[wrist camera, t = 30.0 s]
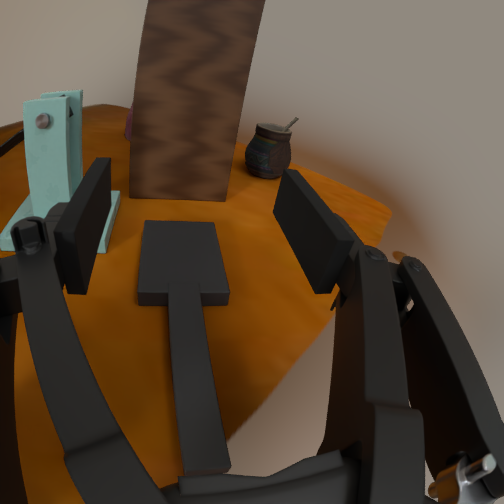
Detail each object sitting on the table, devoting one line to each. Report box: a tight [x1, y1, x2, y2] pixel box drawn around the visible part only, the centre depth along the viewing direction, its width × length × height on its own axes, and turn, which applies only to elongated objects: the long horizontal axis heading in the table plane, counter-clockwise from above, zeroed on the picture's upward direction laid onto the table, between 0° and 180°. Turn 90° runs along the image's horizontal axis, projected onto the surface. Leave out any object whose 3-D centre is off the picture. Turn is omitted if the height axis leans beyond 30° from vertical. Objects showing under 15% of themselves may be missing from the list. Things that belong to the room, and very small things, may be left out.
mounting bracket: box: [0, 90, 120, 253], centre depth 24 cm, size 12×10×14 cm
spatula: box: [137, 220, 231, 476], centre depth 21 cm, size 7×23×2 cm, turn 13°
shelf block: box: [129, 0, 265, 202], centre depth 33 cm, size 12×14×30 cm
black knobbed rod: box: [0, 94, 74, 157], centre depth 21 cm, size 15×4×4 cm, turn 103°
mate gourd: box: [245, 118, 298, 179], centre depth 46 cm, size 7×8×10 cm
